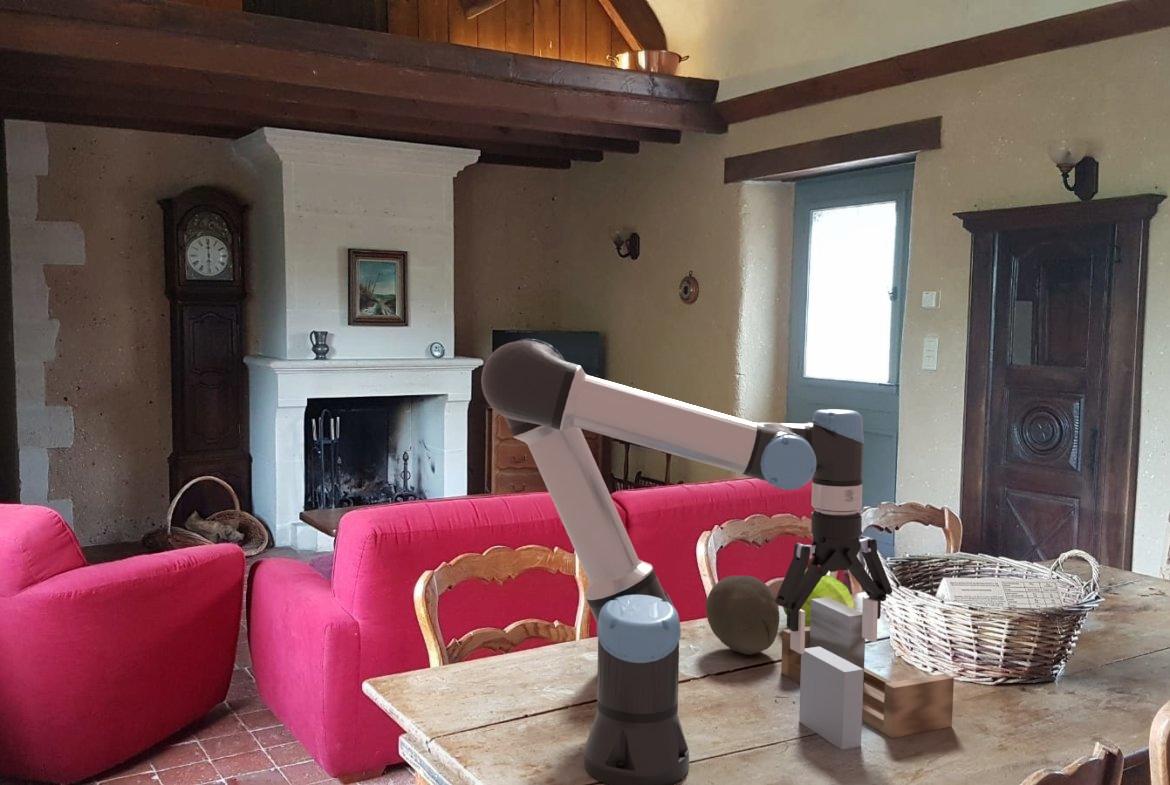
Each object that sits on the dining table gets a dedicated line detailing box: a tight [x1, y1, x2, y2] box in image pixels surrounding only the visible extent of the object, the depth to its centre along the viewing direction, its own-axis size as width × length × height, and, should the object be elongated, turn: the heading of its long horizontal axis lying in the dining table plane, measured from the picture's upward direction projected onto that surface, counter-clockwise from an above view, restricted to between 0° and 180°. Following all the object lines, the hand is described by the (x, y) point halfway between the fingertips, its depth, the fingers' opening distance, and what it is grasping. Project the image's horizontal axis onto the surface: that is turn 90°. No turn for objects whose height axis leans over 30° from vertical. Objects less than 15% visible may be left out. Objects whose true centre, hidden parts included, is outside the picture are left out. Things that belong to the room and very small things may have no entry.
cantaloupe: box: [705, 575, 780, 656], centre depth 188 cm, size 14×14×15 cm
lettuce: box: [782, 568, 856, 627], centre depth 201 cm, size 14×20×12 cm
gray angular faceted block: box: [798, 646, 864, 750], centre depth 152 cm, size 4×11×12 cm, turn 23°
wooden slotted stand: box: [780, 597, 955, 739], centre depth 166 cm, size 12×30×14 cm, turn 23°
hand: (833, 645), depth 151 cm, fingers open, 13 cm apart
